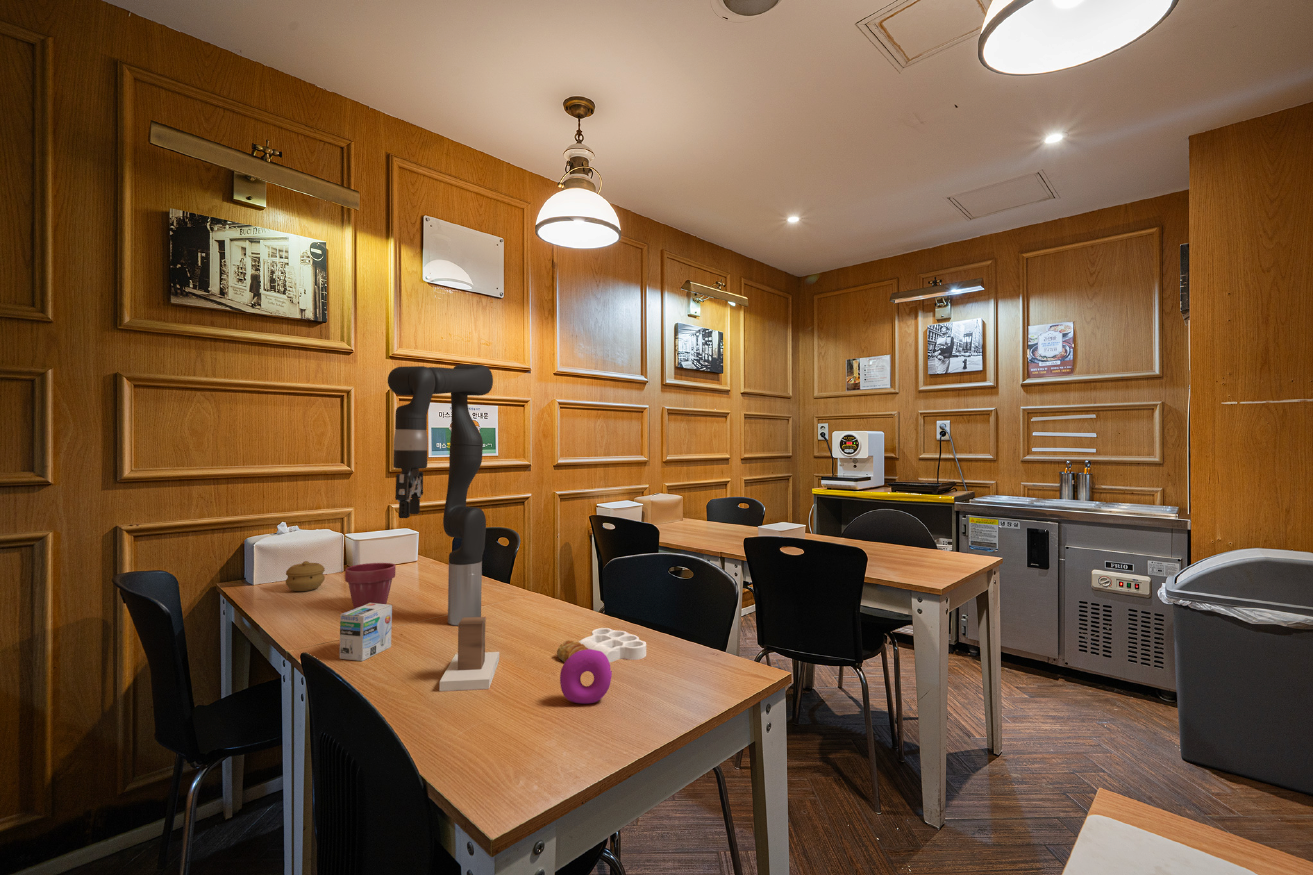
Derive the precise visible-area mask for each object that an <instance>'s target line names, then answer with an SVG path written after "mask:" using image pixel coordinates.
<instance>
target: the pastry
mask: <svg viewBox="0 0 1313 875" xmlns="http://www.w3.org/2000/svg"><path fill="white" fill-rule="evenodd" d="M587 649H588V648H586V647H585V645H584V644H581V643H580V642H579V641H574V640H565V641H564V642H563V643H561V644H559V647H558V648H557V651H556V656H557V657H558V659H559V660H561V661H562V663H563V662H564V663H565V662H566V660H567V659H568V658H569V657H570V656H572V655H573V654H574V653H576V652H578V651H582V650H587Z"/></svg>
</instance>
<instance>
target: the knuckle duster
mask: <svg viewBox="0 0 1313 875" xmlns="http://www.w3.org/2000/svg"><path fill="white" fill-rule="evenodd" d="M578 642H580V643H581V644H584V645H585V647H586V648H588V649H593V650H597V651H601V652H603V653H604V654H605V655H606V657H607V658H608V660H609V663H610V664H611V663H613V662H615V661H617V660H631V661H632V660H633V661H634V660H635V661H636V660H637V661H638V660H641V659H644V658H645V657H647V642H646V641H644V640H641V639H640V637H639V636H637V635H635V634H631V633H629V632H628V631H625V630H617V629H616V630H614V629H612V628H610V627H600V628H595V629H593V630H592V631H591V635H590V636H586V637H584V638H582V639H580V640H579V641H578Z"/></svg>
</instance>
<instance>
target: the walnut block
mask: <svg viewBox="0 0 1313 875" xmlns="http://www.w3.org/2000/svg"><path fill="white" fill-rule="evenodd" d="M457 626H458V627H457V628H458V629H457V630H458V631H457V654H458V670H479V669H482V666H483V664H484V662H485V652H486V616H481V617H466V618H462V620H461V621H460V623H459V624H458V625H457Z"/></svg>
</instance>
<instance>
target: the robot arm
mask: <svg viewBox="0 0 1313 875" xmlns="http://www.w3.org/2000/svg"><path fill="white" fill-rule="evenodd" d="M387 384H388V388H389V389H390V390H391V392H393V393H394V394H396V395H399V396H412V398H411V400H410V401H409V403H406V404H403V405H399V406H398V407H396V409H395V419H394V420H395V421H394V422H395V424H394V425H395V428H394V436H393V459H392V460H393V466H392V467H393V469H399V470H401V473H397V474H396V475H395V500H396V501H397V502H398V517H399V519H409V518H410V516H411V515H419V514H420V511H421V509H420V508H421V506H420V504H421V503H420V502H421V498H422V496H423V494H424V472H423V471H420V470H419V469H426V468H428V447H429V446H428V445H429V444H428V443H429V441H428V440H429V439H428V431H427V430H428V429H427V428H428V425H427V424H428V422H427V421H428V412H429V408H430V403H431V402H432V398H433V395H442V394H450V405H451V406H450V408H451V421H450V422H451V423H450V424H451V426H450V427H451V428H450V438H449V439H450V440H449V441H450V442H449V456H448V458H449V460H448V461H449V464H448V465H449V466H448V480H447V490H446V497H445V498H446V499H445V504H444V510H443V511H444V512H443V518H442V519H443V520H442V521H443V522H442V525H443V530H444V533H445V534H446V535H447V536H448V537H450V538H455V539H461V544H460V547H459V548H458V549H455V550H453V551H450V552H449V554H448V581H447V583H448V584H447V585H448V586H447V590H448V591H447V592H448V593H447V623H448V624H449V625H452V626H458V624H459V623H460V621H461V620H462V618H466V617H482V587H483V584H482V580H483V578H482V577H483V571H482V570H483V568H482V567H483V566H482V565H483V554H484V551H485V547H486V534H487V532H486V531H487V518H486V513H485V512H484V511H483V509H482V508H479V507H475V506H474V507H473V506H467V496H468V491H469V488H470V485H471V484H472V481H473V480H474V478H475V477H476V475H477V473H478V472H479V470H480V468H481V465H482V461H483V451H484V450H483V446H484V444H483V443H484V441H483V437H482V435H481V432H480V430H479V428H478V427H477V426H476V424H475V422H474V420H473V418H472V416H471V414H470V411H469V403H468V398H469V397H468V396H471V397H473V396H475V397H476V396H478V397H479V396H485V395H488V394H489V393H490V391H492V388H493V386H494V385H493V384H494V378H493V374H492V371H491V370H490V368H489V367H488V366H487V365H483V364H457V365H455V366H454V367H453V368H450V367H441V366H430V367H429V366H428V367H427V366H424V365H423V366H422V365H421V366H419V365H418V366H415V365H414V366H397V367H395V368H393V369H392V370H391V371H389V374H388V376H387Z"/></svg>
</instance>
